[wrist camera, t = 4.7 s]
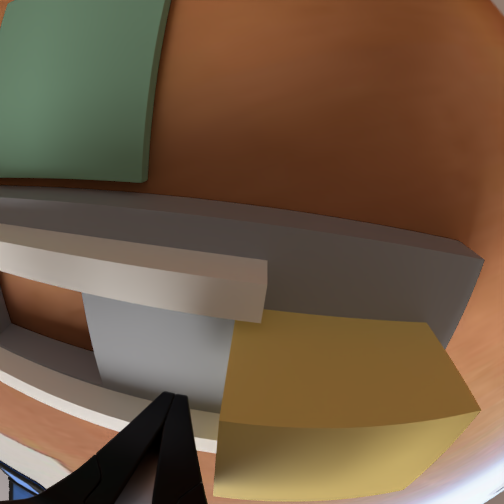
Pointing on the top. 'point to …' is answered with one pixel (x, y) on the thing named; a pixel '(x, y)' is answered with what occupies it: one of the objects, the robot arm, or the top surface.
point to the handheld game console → (20, 484)
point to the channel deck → (199, 290)
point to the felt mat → (79, 87)
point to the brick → (334, 407)
